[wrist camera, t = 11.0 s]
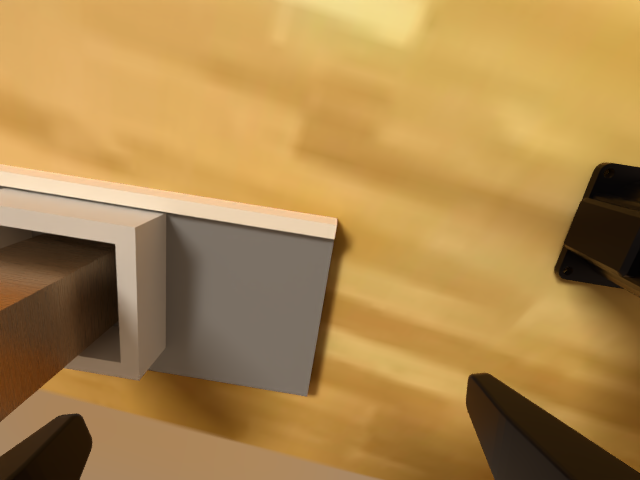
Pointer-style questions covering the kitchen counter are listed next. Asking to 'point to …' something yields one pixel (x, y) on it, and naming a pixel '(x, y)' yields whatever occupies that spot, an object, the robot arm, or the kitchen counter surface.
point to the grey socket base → (188, 277)
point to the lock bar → (51, 308)
